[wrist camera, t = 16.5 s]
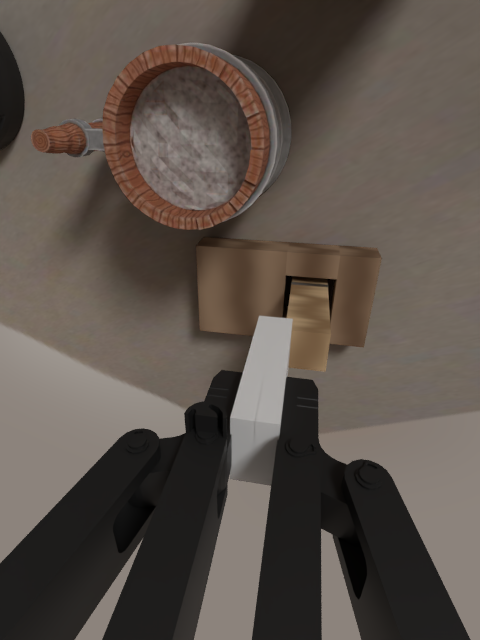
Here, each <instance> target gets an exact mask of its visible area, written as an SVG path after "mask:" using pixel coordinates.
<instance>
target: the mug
mask: <svg viewBox="0 0 480 640" xmlns="http://www.w3.org/2000/svg"><path fill="white" fill-rule="evenodd" d="M31 141H32V144H33V146H34V147H35V148H36V149H37V150H38V151H41V152H46V153H64V152H65V153H67V154H68V155H70V156H73V157H81V156H87V155H90V154H91V153H92V152H93V151H98V150H100V151H103V152H105V154H106V158H107V162H108V164H109V167H110V169H111V171H112V174H113V176H114V178H115V180H116V182H117V183H118V185H119V187H120V188H121V190H122V192H123V193H124V194H125V196H126V197H127V198H128V199H129V200H130V202H131V203H132V204H133V205H134V206H135V207H137V208H138V209H139V210H140V211H142V212H143V213H144V214H145V215H147V216H149V217H150V218H152V219H154V220H155V221H157V222H159V223H161V224H164V225H167V226H169V227H172V228H178V229H184V230H192V229H199V230H201V229H205V228H209V227H213V226H214V225H216V224H218V223H221V222H225V221H227V220H229V219H232V218H234V217H236V216H238V215H239V214H241V213H242V212H243V211H245V210H246V209H247V208H249V207H250V206H251V205H252V204H253V203H254V201H255V200H256V199H257V198H258V197H259V196H260V195H261V194H262V193H263V192H264V191H266V190H267V189H268V188H269V187H270V186H271V185H272V184H273V182H274V181H275V180H276V179H277V178H278V176H279V174H280V172H281V171H282V169H283V167H284V165H285V162H286V160H287V157H288V154H289V149H290V143H291V120H290V115H289V109H288V106H287V103H286V101H285V98H284V96H283V93H282V92H281V90H280V88H279V87H278V85H277V84H276V82H275V81H274V79H273V78H272V77H271V76H270V75H269V74H268V73H267V72H266V71H265V70H264V69H263V68H261V67H260V66H258V65H257V64H255V63H254V62H252V61H250V60H248V59H245V58H242V57H240V56H237V55H231V54H230V53H228V52H227V51H225V50H222V49H220V48H217V47H214V46H212V45H209V44H200V43H192V42H191V43H184V44H175V45H165V46H158V47H155V48H153V49H151V50H148V51H146V52H143V53H142V54H140V55H139V56H138V57H136V58H135V59H134V60H133V61H131V62H130V63H129V64H128V65H127V66H126V67H125V68H124V70H123V71H122V72H121V73H120V74H119V75H118V77H117V79H116V80H115V82H114V84H113V86H112V88H111V90H110V91H109V93H108V96H107V100H106V103H105V106H104V110H103V118H100V119H96V120H94V121H93V122H92V123H86V122H85V121H84V120H80V119H68V120H64V121H63V122H62V123H61V124H59V126H58V127H56V126H53V127H49V128H47V129H43V130H39V129H38V130H34V131H33V132H32V135H31Z"/></svg>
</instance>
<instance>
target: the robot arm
mask: <svg viewBox="0 0 480 640" xmlns="http://www.w3.org/2000/svg"><path fill="white" fill-rule="evenodd" d="M23 112H24V91H23V84H22V79H21V75H20V71H19V68H18V65H17V63H16V60H15V58H14V55H13V53H12V51H11V49H10V47H9V45H8V43H7V41H6V40H5V38H4V37H3V35H2V34H1V32H0V150H1V149H3V148H4V147H6V146H7V145H8V144H9V143H10V142H11V141H12V140H13V139H14V137H15V136H16V134H17V132H18V130H19V128H20V125H21V122H22V118H23ZM292 321H293V319H290V318H279V317H268V316H259V318H258V322H257V325H256V329H255V332H254V336H253V339H252V343H251V346H250V350H249V353H248V357H247V360H246V364H245V367H244V371H243V373H242V372H233V371H225V370H221V371H220V372H219V373H218V374H217V375H216V376H215V377H214V378H213V380H212V383H211V385H210V388H209V390H208V393H207V396H206V398H205V401H204V402H199V403H196V404H194V405H192V406H190V407H189V408H188V409H187V410H186V412H185V413H184V414H185V426H186V433H185V434H182V435H180V436H176V437H172V438H163V439H159V437H158V436H157V434H156V433H155V432H153V431H151V430H148V429H135V430H132V431H130V432H127V433H126V434H124V435H123V436H122V437H120V438H119V439H118V440H117V442H116V443H115V444H114V445H113V446H112V447H111V448H110V449H109V450H108V451H107V452H106V453H105V454H104V455H103V456H102V457H101V458H100V460H98V462H96V464H95V465H94V466H93V467H92V468H91V469H90V470H89V471H88V472H87V473H86V474H85V475H84V476H83V478H81V479H80V480H79V481H78V482H77V484H76V485H75V486H74V487H73V488H72V489H71V490H70V491H69V492H68V493H67V494H66V495H65V496H64V497H63V498H62V499H61V500H60V501H59V503H57V504H56V506H55V507H54V508H53V509H52V510H51V511H50V512H49V513H48V514H47V515H46V516H45V517H44V518H43V519H42V520H41V521H40V522H39V523H38V524H37V525H36V527H35V528H34V529H33V530H32V531H31V532H30V533H29V534H28V535H27V536H26V537H25V538H24V539H23V540H22V541H21V542H20V543H19V544H18V545H17V546H16V548H15V549H14V550H13V551H12V552H11V553H10V554H9V555H8V556H7V557H6V558H5V559H4V560H3V561H2V562H1V563H0V640H74V639H75V638H76V636H77V635H78V633H79V632H80V631H81V629H82V628H83V626H84V625H85V623H86V621H87V620H88V619H89V617H90V616H91V614H92V613H93V611H94V610H95V608H96V607H97V605H98V604H99V602H100V601H101V599H102V598H103V596H104V595H105V593H106V592H107V590H108V589H109V588H110V586H111V584H112V583H113V582H114V580H115V579H116V577H117V576H118V574H119V573H120V571H121V570H122V568H123V567H124V565H125V563H126V562H127V561H128V559H129V558H130V556H131V555H132V553H133V552H134V550H135V549H136V547H137V545H138V544H139V543H140V541H141V540H142V539H143V541H142V543H141V545H140V548H139V550H138V553H137V555H136V558H135V560H134V563H133V565H132V568H131V570H130V572H129V575H128V577H127V580H126V582H125V585H124V587H123V590H122V592H121V595H120V597H119V600H118V602H117V605H116V607H115V610H114V612H113V614H112V617H111V619H110V622H109V624H108V627H107V629H106V632H105V634H104V637H103V639H102V640H194V636H195V632H196V627H197V623H198V619H199V614H200V610H201V605H202V601H203V597H204V592H205V588H206V584H207V580H208V575H209V571H210V567H211V563H212V558H213V554H214V550H215V545H216V540H217V536H218V532H219V527H220V524H221V519H222V515H223V510H224V506H225V502H226V498H227V482H228V479H229V475H230V479H233V480H239V481H246V482H252V483H259V484H264V485H271V492H270V500H269V508H268V516H267V524H266V532H265V540H264V548H263V556H262V564H261V572H260V580H259V588H258V596H257V604H256V611H255V619H254V628H253V636H252V640H322V638H321V636H322V635H321V529H324V530H325V531H327V532H329V533H331V534H333V539H334V543H335V546H336V550H337V553H338V557H339V561H340V564H341V568H342V571H343V575H344V579H345V582H346V586H347V589H348V593H349V596H350V600H351V604H352V607H353V611H354V614H355V618H356V622H357V625H358V628H359V632H360V636H361V640H470V638H469V636H468V634H467V632H466V630H465V628H464V626H463V623H462V622H461V619H460V617H459V615H458V613H457V611H456V609H455V607H454V605H453V603H452V601H451V599H450V597H449V595H448V592H447V590H446V588H445V586H444V585H443V582H442V580H441V578H440V576H439V574H438V572H437V570H436V568H435V566H434V564H433V562H432V559H431V557H430V555H429V553H428V551H427V549H426V547H425V545H424V543H423V541H422V539H421V537H420V535H419V533H418V531H417V529H416V527H415V525H414V522H413V520H412V518H411V516H410V514H409V512H408V510H407V508H406V506H405V504H404V502H403V500H402V498H401V496H400V494H399V492H398V489H397V487H396V485H395V483H394V481H393V479H392V477H391V476H390V474H389V473H388V472H387V470H386V469H384V468H383V467H382V466H380V465H379V464H377V463H375V462H372V461H369V460H362V459H360V460H356V461H352V462H351V463H350V464H348V465H346V464H344V463H341V462H339V461H337V460H335V459H333V458H332V457H330V456H329V455H328V454H326V453H325V452H324V450H323V449H322V448H321V446H320V444H319V439H318V388H317V387H316V385H315V383H314V382H313V380H309V379H300V378H292V377H287V375H288V366H289V355H290V344H291V333H292ZM143 537H144V538H143Z"/></svg>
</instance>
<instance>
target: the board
mask: <svg viewBox="0 0 480 640" xmlns="http://www.w3.org/2000/svg"><path fill="white" fill-rule="evenodd" d="M196 258H197V279H198V301H199V323H200V331H210V332H219V333H229V334H239V335H249V336H254V332H255V329H256V325H257V322H258V318H259V316H268V317H279V318H287V311H288V307H286V306H284V305H285V292H286V279H287V276H299V277H312V278H325V279H334V282H333V289H332V297H331V304H330V310H329V311H330V327H331V337H330V344H337V345H346V346H356V347H364V343H365V338H366V333H367V328H368V324H369V319H370V314H371V309H372V304H373V299H374V294H375V289H376V284H377V279H378V274H379V269H380V264H381V259H382V258H381V256H380V254H379V251H378V249H377V248H367V247H352V246H336V245H321V244H305V243H290V242H274V241H259V240H243V239H228V238H212V237H204V238H203V239H202V240H201V241H200V242H199V243H198V244H197V245H196Z"/></svg>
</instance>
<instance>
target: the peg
mask: <svg viewBox="0 0 480 640" xmlns="http://www.w3.org/2000/svg"><path fill="white" fill-rule="evenodd" d="M287 318H290V319H293V321H292V333H291V344H290V355H289V366H288V367H289V368H298V369H307V370H316V371H326V364H327V357H328V351H329V344H330V337H331V327H330V311H329V295H328V279H325V278H312V277H299V276H293V278H292V282H291V291H290V298H289V305H288V311H287Z"/></svg>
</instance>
